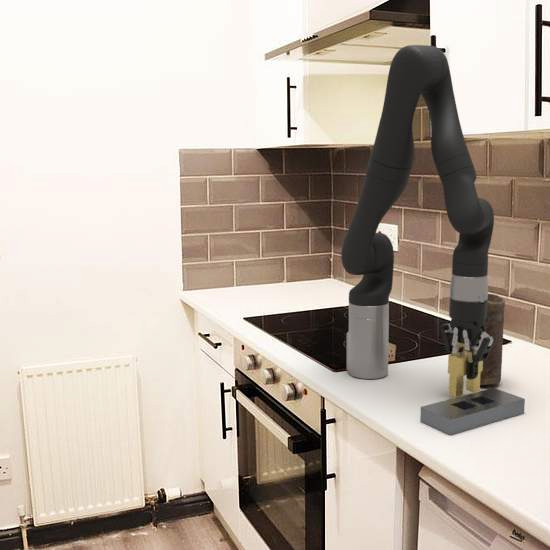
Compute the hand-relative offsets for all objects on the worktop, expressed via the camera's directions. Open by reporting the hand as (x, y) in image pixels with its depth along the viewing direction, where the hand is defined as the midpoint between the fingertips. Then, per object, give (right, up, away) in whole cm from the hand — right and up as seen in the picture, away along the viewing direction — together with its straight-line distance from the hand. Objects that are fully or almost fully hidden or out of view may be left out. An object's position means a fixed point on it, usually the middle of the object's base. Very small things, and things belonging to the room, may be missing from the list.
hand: (465, 375), depth 147 cm
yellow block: (0, -4, +1) cm, 4 cm away
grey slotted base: (-1, -7, -9) cm, 12 cm away
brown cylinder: (+7, -3, +10) cm, 13 cm away
